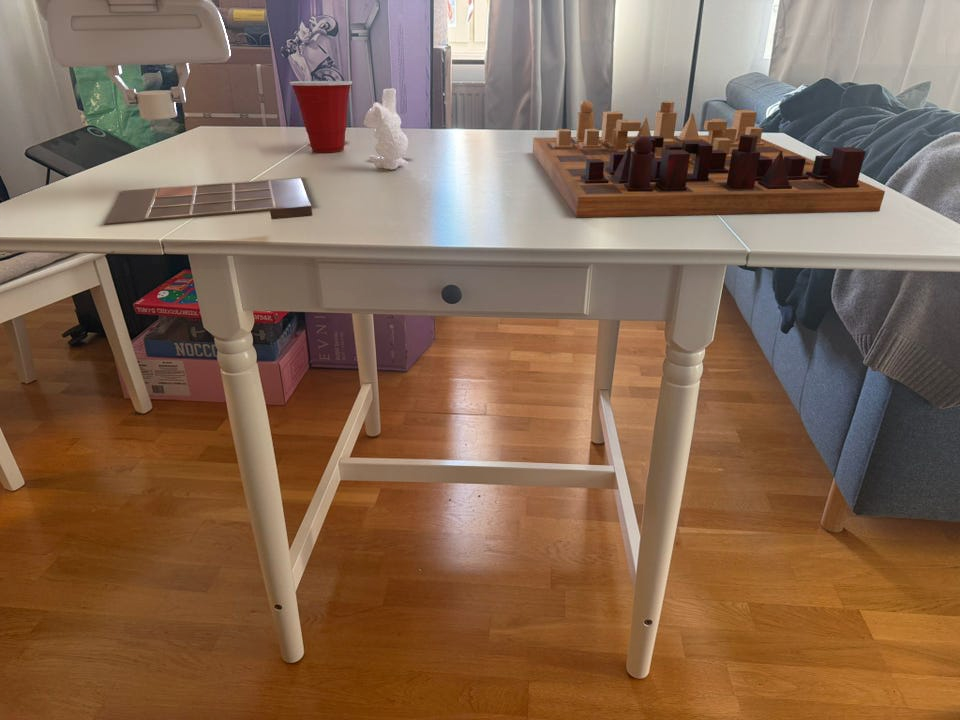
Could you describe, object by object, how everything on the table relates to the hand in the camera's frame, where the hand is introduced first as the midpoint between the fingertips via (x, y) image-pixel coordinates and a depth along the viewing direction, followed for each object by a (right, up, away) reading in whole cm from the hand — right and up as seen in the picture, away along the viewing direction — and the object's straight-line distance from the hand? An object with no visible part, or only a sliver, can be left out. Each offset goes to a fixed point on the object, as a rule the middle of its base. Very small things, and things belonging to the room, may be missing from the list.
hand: (156, 103), depth 87 cm
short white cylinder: (0, -2, +1) cm, 2 cm away
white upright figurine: (+27, -2, +24) cm, 36 cm away
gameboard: (+72, -5, +17) cm, 75 cm away
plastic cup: (+14, +5, +37) cm, 40 cm away
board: (+6, -13, +3) cm, 15 cm away
